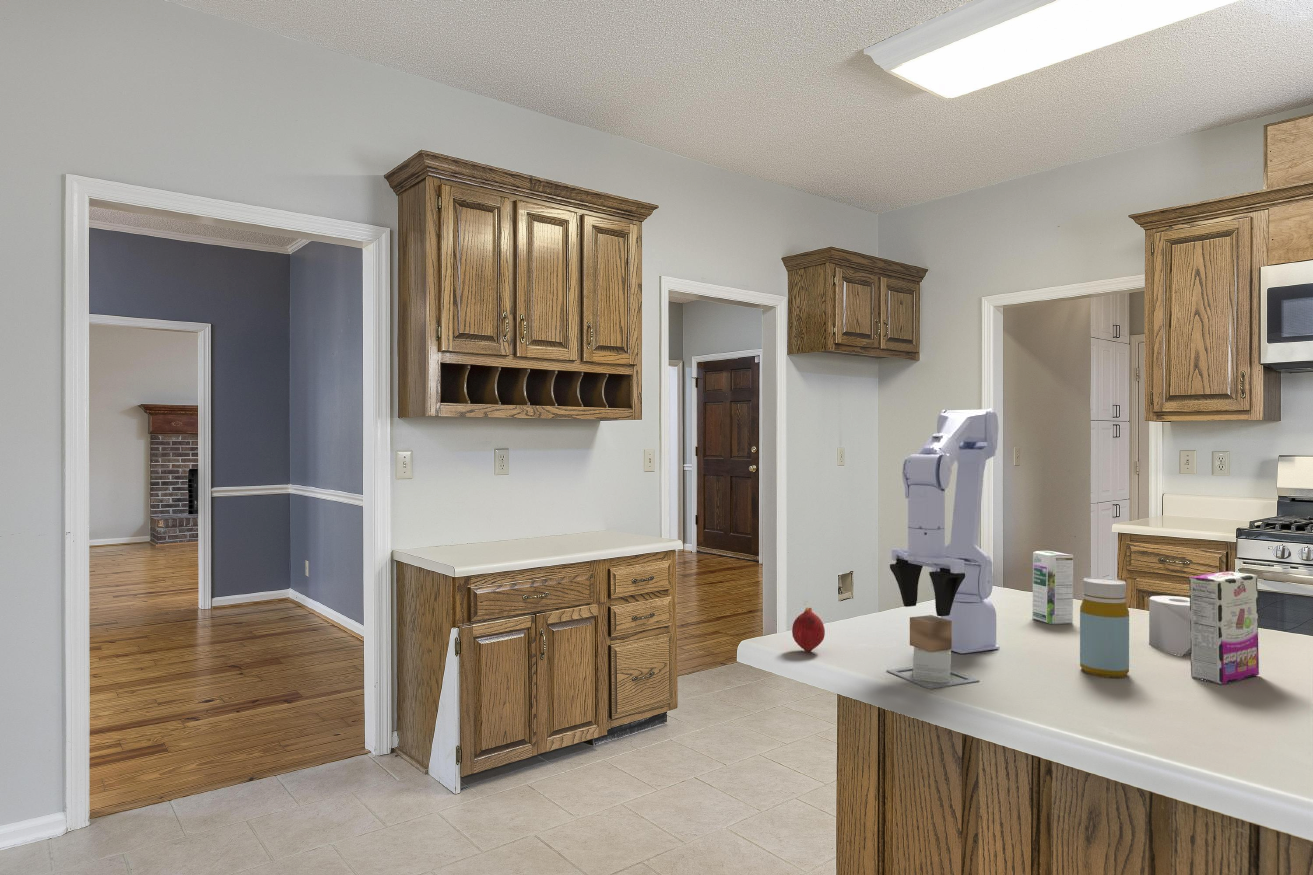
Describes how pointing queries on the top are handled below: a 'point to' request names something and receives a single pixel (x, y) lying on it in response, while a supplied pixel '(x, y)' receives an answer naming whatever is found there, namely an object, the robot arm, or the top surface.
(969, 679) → the gray square frame
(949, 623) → the walnut cube
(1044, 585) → the syrup box
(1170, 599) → the toilet tissue
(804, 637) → the onion
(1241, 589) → the candy bar box
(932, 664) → the small box
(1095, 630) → the bottle
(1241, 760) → the top surface
